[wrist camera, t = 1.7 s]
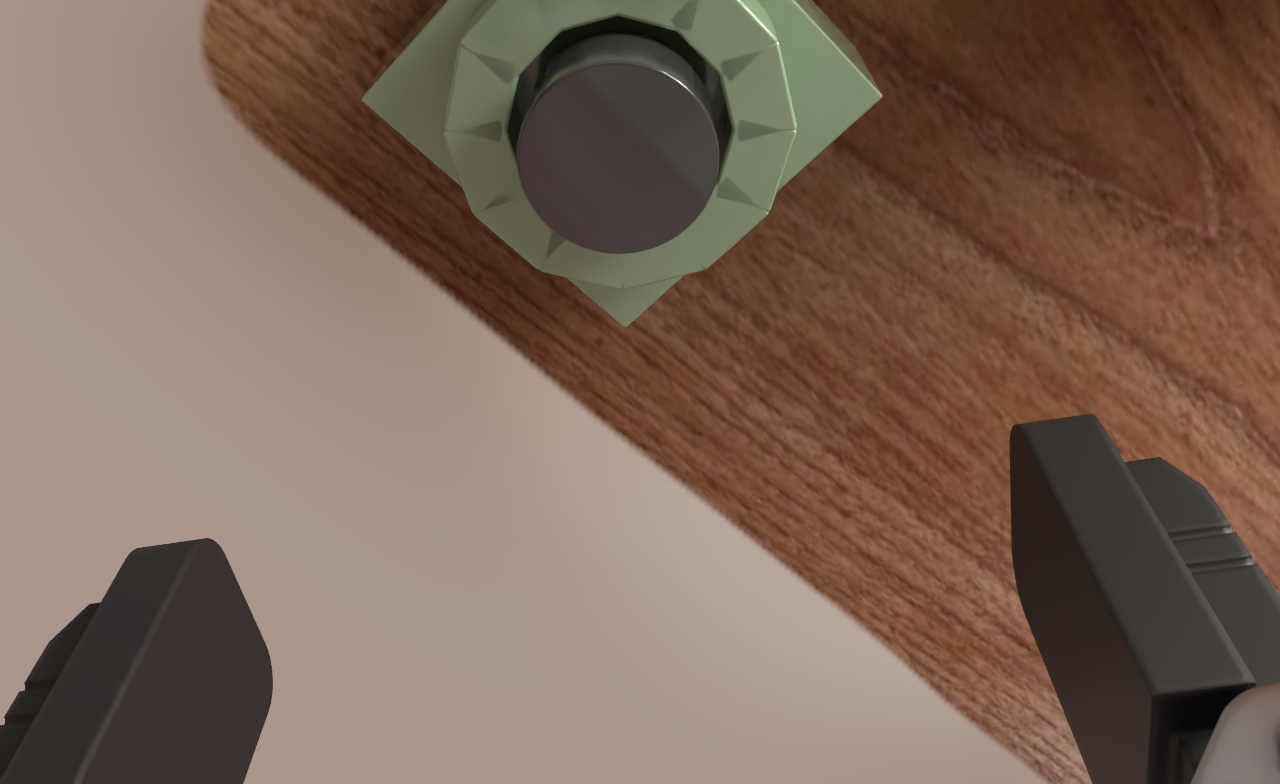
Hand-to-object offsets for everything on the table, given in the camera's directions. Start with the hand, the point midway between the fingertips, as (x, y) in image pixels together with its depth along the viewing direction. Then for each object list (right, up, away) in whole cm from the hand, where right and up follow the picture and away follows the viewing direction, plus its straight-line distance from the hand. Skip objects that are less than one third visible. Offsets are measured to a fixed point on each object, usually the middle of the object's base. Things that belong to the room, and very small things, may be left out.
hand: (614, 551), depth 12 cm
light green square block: (0, +9, +15) cm, 18 cm away
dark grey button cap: (0, +7, +11) cm, 13 cm away
